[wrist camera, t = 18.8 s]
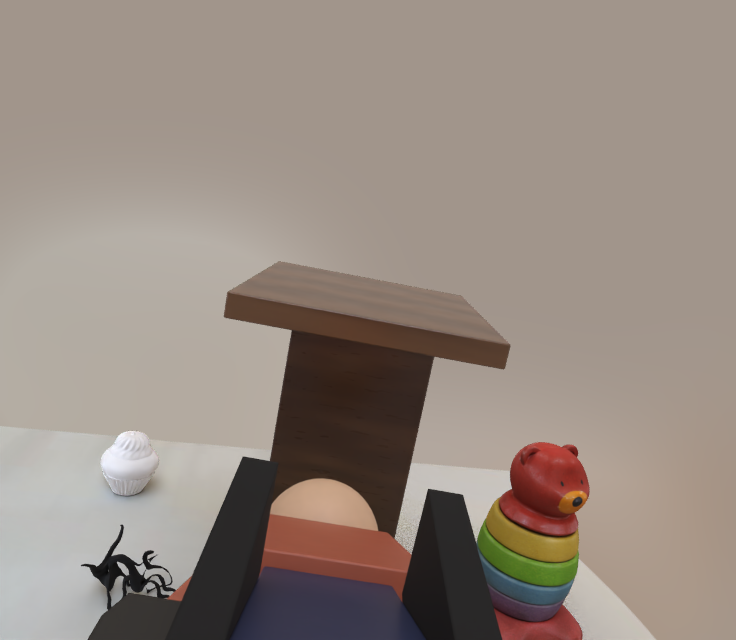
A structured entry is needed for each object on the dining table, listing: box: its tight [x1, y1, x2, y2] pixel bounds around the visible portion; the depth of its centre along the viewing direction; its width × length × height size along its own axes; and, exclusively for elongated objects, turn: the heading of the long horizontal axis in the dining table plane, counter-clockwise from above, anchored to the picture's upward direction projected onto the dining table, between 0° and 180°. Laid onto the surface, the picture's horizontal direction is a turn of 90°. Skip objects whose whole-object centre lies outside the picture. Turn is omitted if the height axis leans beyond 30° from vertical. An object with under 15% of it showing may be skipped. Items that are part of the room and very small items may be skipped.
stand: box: [224, 261, 510, 538], centre depth 44 cm, size 18×16×30 cm
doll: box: [167, 479, 426, 640], centre depth 16 cm, size 25×8×5 cm, turn 1°
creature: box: [81, 525, 176, 610], centre depth 49 cm, size 8×5×8 cm
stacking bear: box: [476, 442, 589, 640], centre depth 55 cm, size 11×10×18 cm
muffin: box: [100, 431, 159, 496], centre depth 65 cm, size 6×6×7 cm
